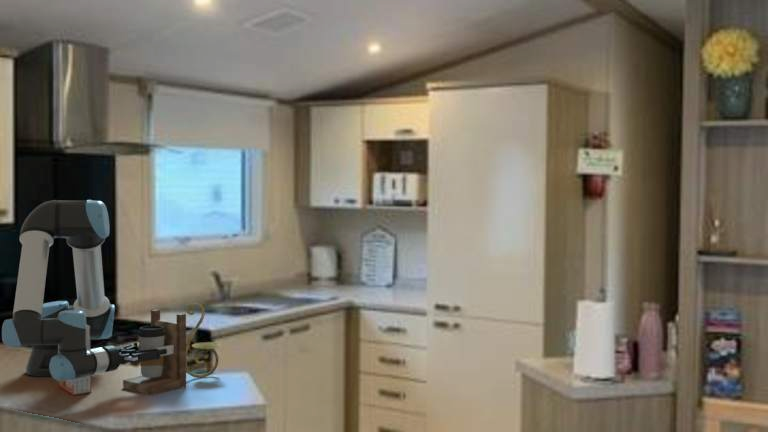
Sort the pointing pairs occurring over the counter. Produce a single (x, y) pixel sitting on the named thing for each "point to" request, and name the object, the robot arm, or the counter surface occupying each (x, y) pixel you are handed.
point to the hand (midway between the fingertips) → (164, 347)
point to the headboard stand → (166, 359)
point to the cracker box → (78, 384)
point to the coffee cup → (150, 340)
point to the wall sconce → (201, 345)
